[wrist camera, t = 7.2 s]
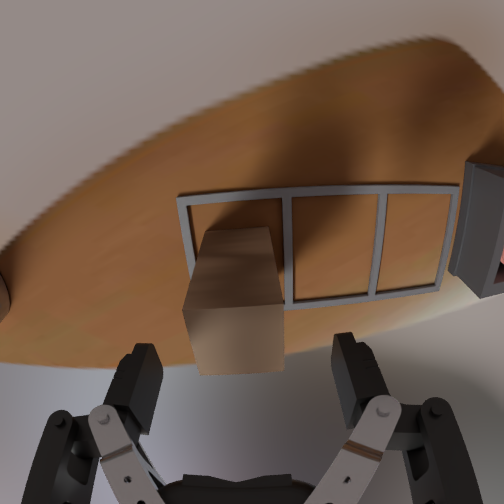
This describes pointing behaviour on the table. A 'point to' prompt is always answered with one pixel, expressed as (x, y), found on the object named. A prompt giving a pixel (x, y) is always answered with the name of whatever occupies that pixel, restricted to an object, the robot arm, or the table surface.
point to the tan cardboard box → (236, 304)
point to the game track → (287, 233)
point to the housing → (480, 230)
